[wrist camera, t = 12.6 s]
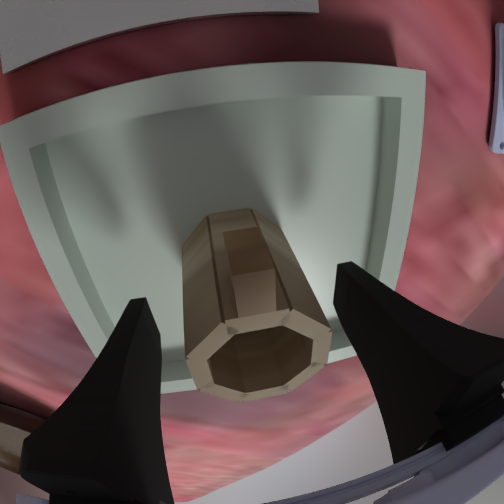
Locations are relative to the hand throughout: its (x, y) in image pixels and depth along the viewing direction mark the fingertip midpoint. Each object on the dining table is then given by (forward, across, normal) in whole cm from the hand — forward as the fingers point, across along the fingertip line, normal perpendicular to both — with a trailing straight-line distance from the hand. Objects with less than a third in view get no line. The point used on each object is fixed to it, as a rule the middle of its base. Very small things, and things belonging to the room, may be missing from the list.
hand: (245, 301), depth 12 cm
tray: (+4, 0, 0) cm, 4 cm away
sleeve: (+3, 0, 0) cm, 3 cm away
